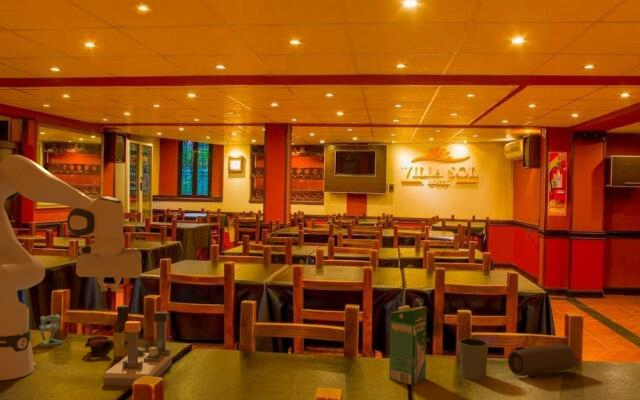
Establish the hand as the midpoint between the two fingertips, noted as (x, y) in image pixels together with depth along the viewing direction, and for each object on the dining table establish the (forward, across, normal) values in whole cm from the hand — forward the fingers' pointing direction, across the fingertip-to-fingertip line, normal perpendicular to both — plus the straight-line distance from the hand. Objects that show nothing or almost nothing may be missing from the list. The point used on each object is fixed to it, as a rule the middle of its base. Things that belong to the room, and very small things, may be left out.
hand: (109, 291), depth 172 cm
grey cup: (+31, -120, -22) cm, 126 cm away
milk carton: (+31, -97, -17) cm, 103 cm away
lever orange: (+26, -5, -7) cm, 27 cm away
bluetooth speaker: (+31, -144, -25) cm, 150 cm away
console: (+31, -5, -13) cm, 34 cm away
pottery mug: (+32, +18, -32) cm, 49 cm away
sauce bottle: (+31, +8, -28) cm, 43 cm away
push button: (+27, -8, -17) cm, 33 cm away
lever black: (+26, -9, -22) cm, 35 cm away
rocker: (+26, -1, -22) cm, 34 cm away
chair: (+31, +45, -45) cm, 71 cm away
